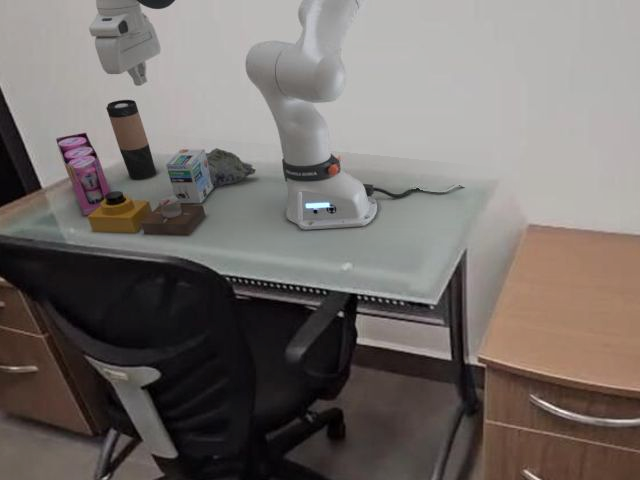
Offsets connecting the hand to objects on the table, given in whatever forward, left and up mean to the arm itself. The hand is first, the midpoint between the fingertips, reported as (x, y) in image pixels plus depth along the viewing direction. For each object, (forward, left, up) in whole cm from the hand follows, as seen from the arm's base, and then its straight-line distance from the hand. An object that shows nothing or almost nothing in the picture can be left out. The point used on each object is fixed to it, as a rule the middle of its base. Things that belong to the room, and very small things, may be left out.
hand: (141, 83), depth 144 cm
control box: (+6, +15, -29) cm, 33 cm away
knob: (-7, +15, -26) cm, 31 cm away
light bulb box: (-5, -1, -29) cm, 30 cm away
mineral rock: (-11, -9, -29) cm, 33 cm away
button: (+6, +15, -24) cm, 29 cm away
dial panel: (-7, +15, -29) cm, 34 cm away
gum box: (+22, +1, -29) cm, 37 cm away
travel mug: (+16, -14, -29) cm, 36 cm away
